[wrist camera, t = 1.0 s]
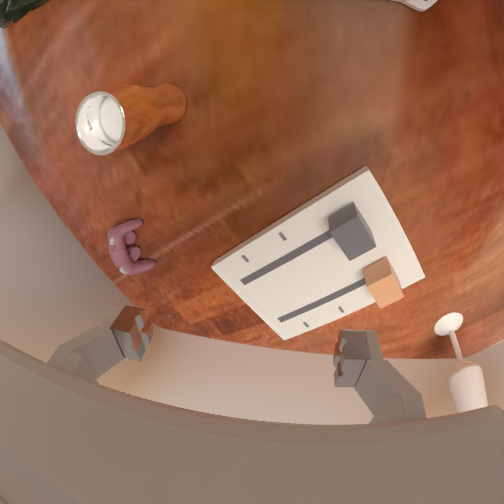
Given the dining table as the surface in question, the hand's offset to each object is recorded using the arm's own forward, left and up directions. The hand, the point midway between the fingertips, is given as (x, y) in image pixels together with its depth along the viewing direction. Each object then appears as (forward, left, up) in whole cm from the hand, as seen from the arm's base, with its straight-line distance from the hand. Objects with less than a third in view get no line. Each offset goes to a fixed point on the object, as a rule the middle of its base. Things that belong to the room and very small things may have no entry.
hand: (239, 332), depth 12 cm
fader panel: (+7, +17, -30) cm, 35 cm away
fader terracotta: (-1, +22, -28) cm, 35 cm away
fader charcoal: (-1, +12, -28) cm, 30 cm away
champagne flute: (-8, +44, -30) cm, 54 cm away
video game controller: (+31, -4, -30) cm, 43 cm away
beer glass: (+9, -16, -30) cm, 35 cm away
